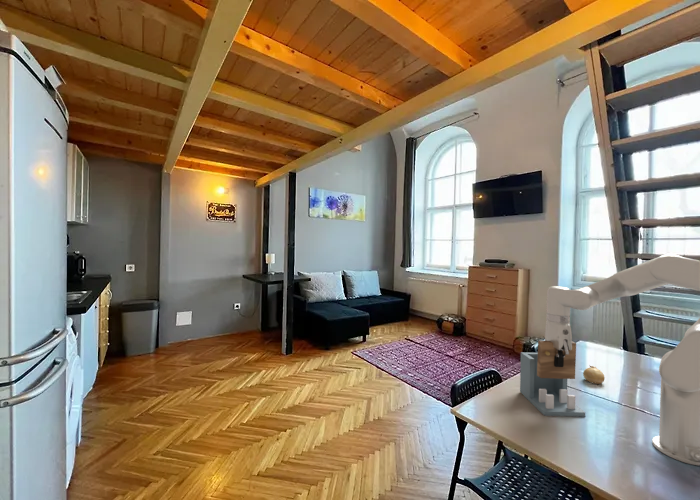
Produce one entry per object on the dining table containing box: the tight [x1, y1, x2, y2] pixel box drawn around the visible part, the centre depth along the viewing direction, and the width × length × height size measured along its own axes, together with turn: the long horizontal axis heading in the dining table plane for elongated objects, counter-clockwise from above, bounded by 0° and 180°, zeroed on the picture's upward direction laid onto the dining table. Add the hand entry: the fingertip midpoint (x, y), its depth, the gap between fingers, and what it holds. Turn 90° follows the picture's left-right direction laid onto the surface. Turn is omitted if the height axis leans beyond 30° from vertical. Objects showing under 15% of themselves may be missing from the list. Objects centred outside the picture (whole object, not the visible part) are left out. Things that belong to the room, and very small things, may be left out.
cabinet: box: [519, 351, 586, 417], centre depth 125 cm, size 18×15×18 cm
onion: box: [582, 364, 606, 385], centre depth 145 cm, size 8×8×7 cm
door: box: [537, 339, 577, 380], centre depth 120 cm, size 3×13×14 cm, turn 88°
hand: (556, 364), depth 121 cm, fingers closed on door, 2 cm apart
